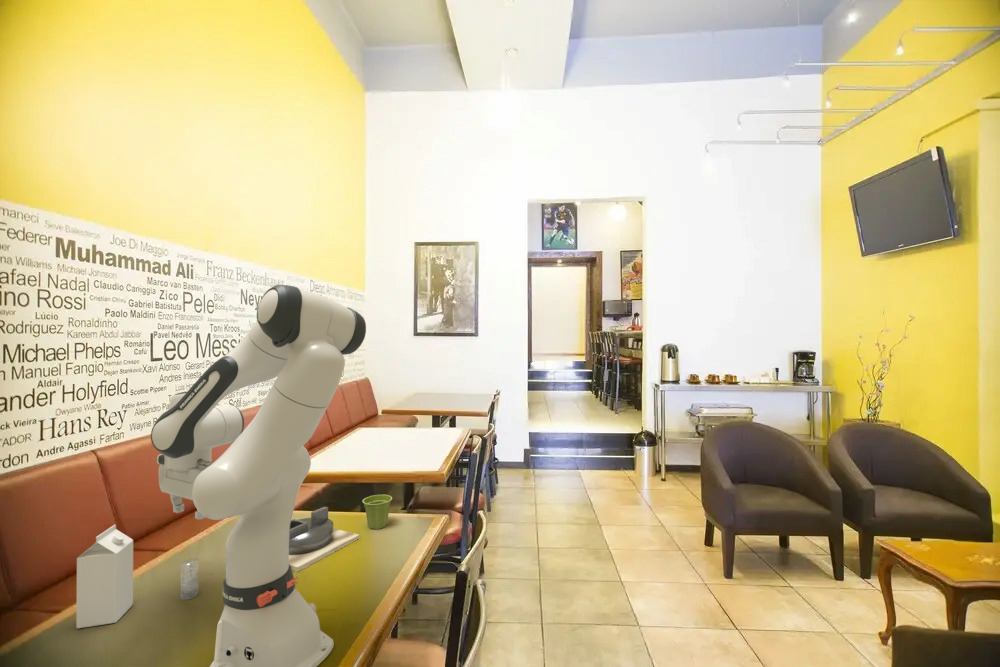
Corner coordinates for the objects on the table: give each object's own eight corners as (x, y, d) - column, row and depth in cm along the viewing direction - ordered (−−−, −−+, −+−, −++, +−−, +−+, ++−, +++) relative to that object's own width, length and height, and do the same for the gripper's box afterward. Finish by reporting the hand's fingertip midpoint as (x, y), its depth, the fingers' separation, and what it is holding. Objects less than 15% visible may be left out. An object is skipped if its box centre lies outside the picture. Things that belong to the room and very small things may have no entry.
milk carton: (75, 629, 94) (76, 539, 94) (96, 610, 101) (96, 526, 101) (115, 623, 96) (116, 535, 96) (133, 605, 103) (133, 522, 103)
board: (359, 538, 136) (359, 534, 136) (297, 571, 117) (297, 566, 117) (310, 526, 146) (310, 522, 146) (245, 554, 127) (245, 549, 127)
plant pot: (360, 523, 148) (360, 497, 148) (389, 518, 152) (389, 492, 152) (364, 533, 140) (364, 506, 140) (395, 528, 144) (394, 501, 144)
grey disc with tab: (345, 535, 135) (344, 511, 135) (299, 558, 121) (299, 531, 121) (308, 526, 142) (308, 503, 142) (262, 547, 128) (262, 521, 128)
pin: (201, 593, 107) (201, 560, 107) (185, 601, 104) (185, 566, 104) (193, 590, 108) (193, 557, 109) (177, 597, 105) (177, 563, 106)
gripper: (228, 459, 105) (228, 517, 105) (181, 450, 114) (180, 504, 114) (200, 465, 99) (200, 527, 99) (152, 455, 109) (152, 512, 109)
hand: (189, 515), depth 107 cm, fingers open, 8 cm apart
